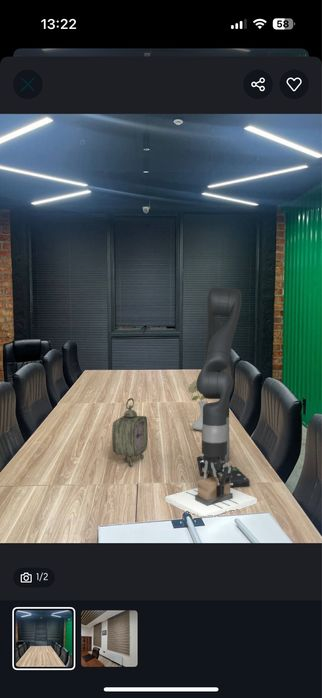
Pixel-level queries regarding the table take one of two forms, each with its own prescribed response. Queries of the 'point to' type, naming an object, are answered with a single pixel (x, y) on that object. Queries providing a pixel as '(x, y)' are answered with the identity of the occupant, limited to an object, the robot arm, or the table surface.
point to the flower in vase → (199, 421)
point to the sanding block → (211, 492)
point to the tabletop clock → (130, 434)
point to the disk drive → (238, 479)
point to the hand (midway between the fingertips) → (214, 494)
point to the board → (190, 504)
